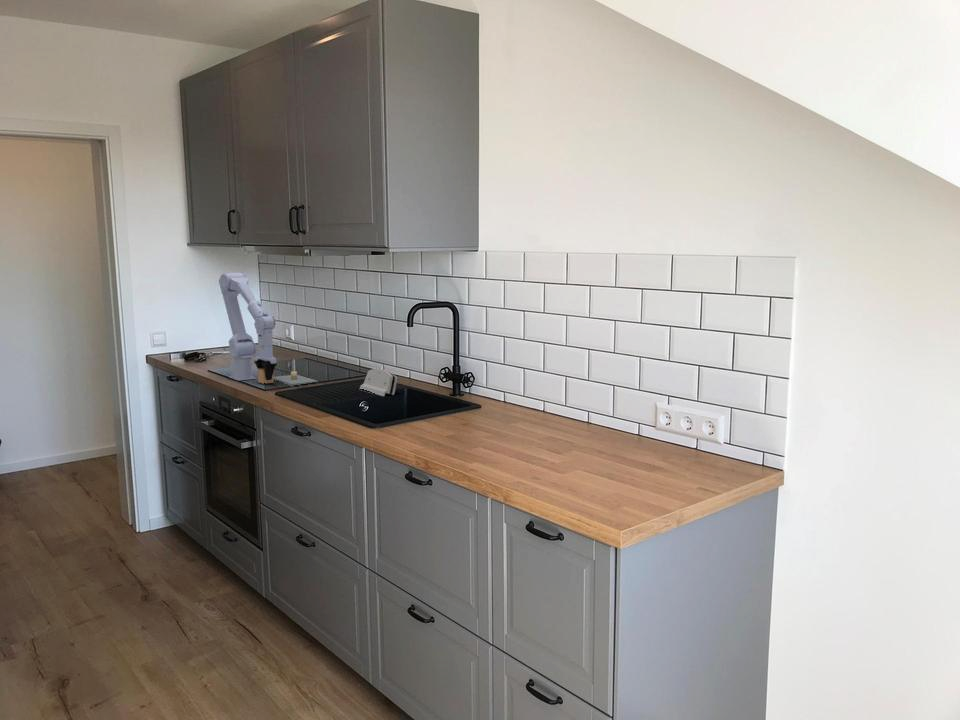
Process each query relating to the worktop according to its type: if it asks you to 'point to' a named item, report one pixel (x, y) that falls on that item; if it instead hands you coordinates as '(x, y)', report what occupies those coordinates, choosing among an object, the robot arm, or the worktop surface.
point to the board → (294, 379)
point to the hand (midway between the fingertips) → (265, 378)
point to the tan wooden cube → (262, 376)
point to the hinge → (380, 382)
